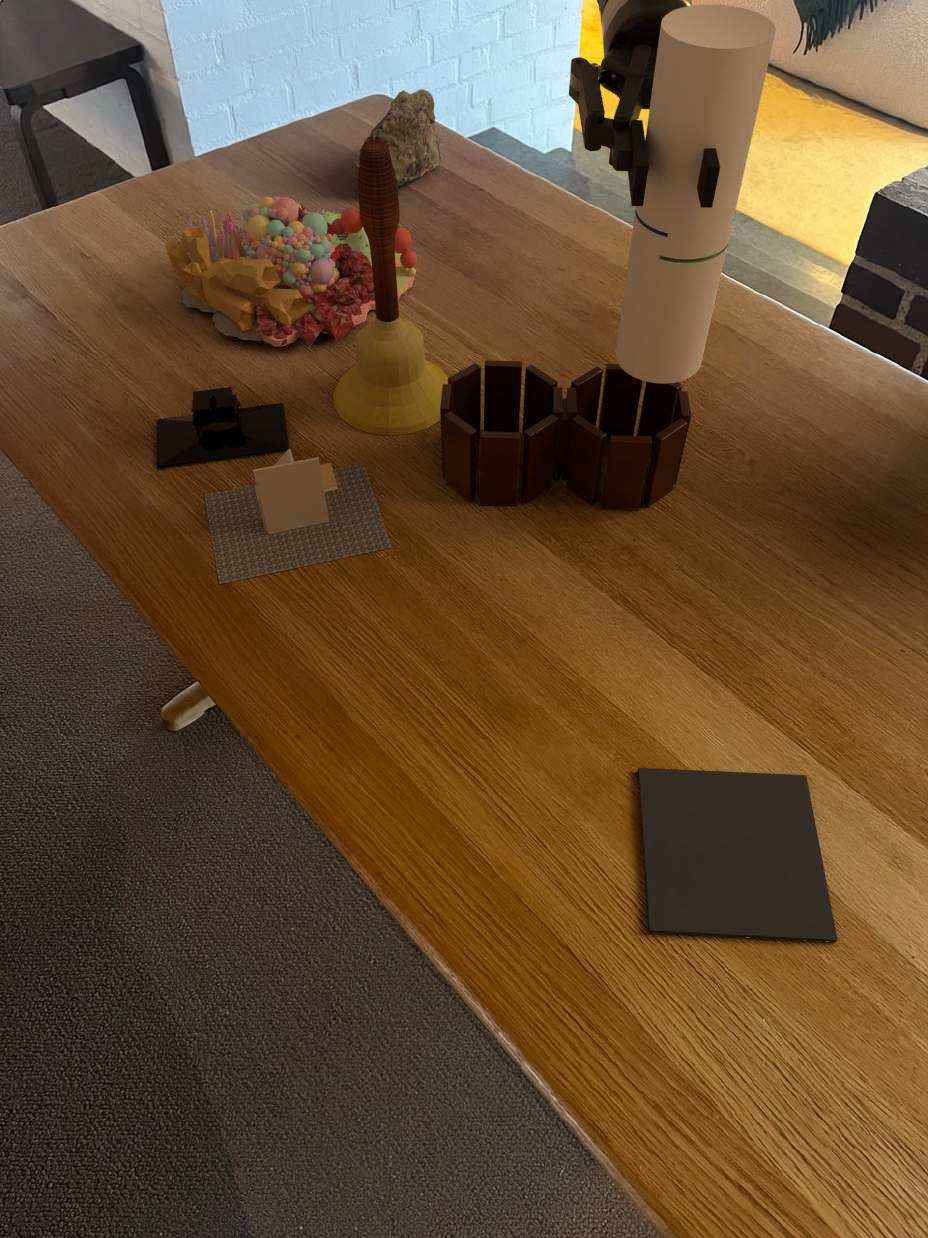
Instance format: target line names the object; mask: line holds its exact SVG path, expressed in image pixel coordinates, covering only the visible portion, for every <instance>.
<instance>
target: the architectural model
mask: <svg viewBox="0 0 928 1238" xmlns="http://www.w3.org/2000/svg"><path fill="white" fill-rule="evenodd" d="M252 472H253V478H254V483H255V484H252V485H248V486H242V487H237V488H233V489H226V490H222V491H216V492H211V493H206V494H204V495H203V496H204V501H205V506H206V507H205V508H206V512H207V519H208V525H209V530H210V538H211V542H212V543H211V544H212V549H213V554H214V561H215V565H216V572H217V578H218V584H219V585H223V584H228V583H232V582H237V581H242V580H246V579H251V578H252V579H253V578H256V577H260V576H265V575H266V576H267V575H269V574H275V573H279V572H283V571H289V570H293V569H297V568H302V567H307V566H311V565H312V566H313V565H316V564H322V563H327V562H331V561H335V560H340V559H345V558H349V557H354V556H359V555H363V554H367V553H373V552H378V551H382V550H388V549H392V548H393V547H392V543H391V539H390V537H389V533H388V531H387V527H386V525H385V521H384V519H383V516H382V513H381V509H380V506H379V504H378V501H377V497H376V494H375V491H374V488H373V485H372V482H371V479H370V476H369V473H368V470H367V467H366V464H365V463H364V462H363V463H359V464H354V465H349V466H344V467H343V466H342V467H339V468H338V467H337V468H334V469H333V466H332V462H328V463H323V464H321V463H320V457H319V456H317V457H316V455H312V457H311V458H306V459H302V460H301V459H300V460H296V461H294V457H293V453H292V450H291V448H289V449H288V450H287V451H286V452H283V454H282V455H281V457H280V458H278V460H277V461H276V462H275V463H274V464H273V465H271V466H265V467H260V468H255V469H252Z"/></svg>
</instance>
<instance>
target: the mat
mask: <svg viewBox="0 0 928 1238" xmlns="http://www.w3.org/2000/svg"><path fill="white" fill-rule="evenodd" d="M637 780H638V781H637V782H639V784H638V796H639V797H640V799H639V811H640V812H641V814H640V827H641V826H642V829H641V842H643V844H642V855H643V854H644V859H643V871H644V873H643V874H644V888H645V901H646V919H647V932H648V931H649V932H648V933H649V934H658V933H664V934H663V935H678V934H682V935H681V936H698V935H699V937H700V936H701V935H706V936H705V937H718V938H737V937H741V938H740V939H747V938H746V937H750V938H749V939H757V938H761V940H763V939H762V938H768V939H767V940H777V939H784V940H783V941H796V940H799V942H804V941H803V940H806V941H805V942H816V941H822V942H821V943H826V942H825V941H829V942H828V943H837V941H838V940H839V939H838V933H837V929H836V924H835V918H834V913H833V909H832V908H833V907H832V903H831V898H830V892H829V887H828V882H827V876H826V871H825V867H824V861H823V856H822V850H821V845H820V841H819V835H818V830H817V825H816V819H815V814H814V809H813V803H812V799H811V793H810V788H809V783H808V777H807V775H806V774H794V773H793V774H792V773H772V772H771V773H769V772H767V773H766V772H745V771H744V772H743V771H721V770H701V769H700V770H698V769H678V768H677V769H676V768H674V769H673V768H657V767H655V768H654V767H653V768H652V767H638V769H637ZM639 797H638V798H639ZM640 809H641V810H640ZM726 936H727V937H726ZM701 937H702V936H701Z"/></svg>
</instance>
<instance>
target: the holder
mask: <svg viewBox="0 0 928 1238" xmlns="http://www.w3.org/2000/svg"><path fill="white" fill-rule="evenodd" d="M524 371H525V372H524V389H523V390H524V391H523V409H522V427H521V432H520V421H521V420H520V418H521V415H520V414H521V400H522V399H521V398H522V397H521V396H522V379H523V377H522V376H523V361H521V360H489V359H488V360H484V374H483V377H484V379H483V380H484V384H483V385H484V386H483V387H484V388H483V430H482V429H481V428H482V427H481V420H482V418H481V417H482V415H481V412H482V411H481V409H482V366H481V365H480V364H478V363H477V362H474V363H472V364H471V365H469V366H467V367H465V368H463V369H462V370H460V371H458V372H456V373H455V374H452V375H451V376H449V377H448V384H443V386H442V396H441V405H440V447H441V449H440V450H441V476H442V477H444V478H445V483H446V485H448V486H449V487H450V488H451V489H453V490H454V491H455V492H457V493H458V494H459V495H460V496H462V497H463V498H465V500H467V501H468V502H469V503H471V502H473V501H474V500H476V499H477V462H478V461H477V459H478V458H477V453H478V452H477V449H478V447H477V445H478V444H477V443H478V439H477V437H479V479H478V481H479V483H478V484H479V487H478V491H479V492H478V493H479V494H478V505H479V506H496V507H517V506H518V491H519V490H518V489H519V473H520V471H519V469H520V451H521V436H522V438H523V439H522V440H523V442H522V459H521V460H522V462H521V478H520V479H521V480H520V481H521V482H520V497H519V499H520V501H521V502H523V503H524V504H526V505H527V504H529V503H530V502H532V501H533V500H535V499H536V498H537V497H539V496H540V495H542V494H544V493H545V492H546V491H548V490H550V489H551V488H553V485H554V481H557V480H558V479H557V478H558V472H560V481H565V485H564V488H566V489H567V490H569V491H570V492H572V493H573V494H574V495H575V496H577V497H578V498H580V499H581V500H582V501H584V502H585V503H587V504H588V505H590V506H591V507H592V506H594V505H595V504H597V503H598V501H599V494H600V493H599V492H600V487H601V478H602V471H603V465H604V457H605V451H606V444H607V438H608V439H609V446H608V451H607V452H608V453H607V460H606V467H605V471H604V472H605V473H604V479H603V487H602V493H601V501H600V509H601V510H614V511H640V507H641V504H642V505H643V506H645V507H646V508H647V509H649V508H650V507H652V506H653V505H654V504H656V503H658V502H659V501H660V500H661V499H663V498H664V497H665V496H667V495H668V494H669V493H671V492H672V491H673V490H674V486H675V485H676V484H677V481H678V476H679V472H680V468H681V464H682V458H683V455H684V451H685V446H686V441H687V437H688V434H689V433H688V432H689V429H690V424H691V420H692V410H691V403H690V397H689V392H688V390H683V384H682V383H680V381H679V382H675V383H667V384H665V383H652V382H647V381H645V385H644V386H645V387H644V393H643V397H642V398H643V399H642V403H641V409H640V414H639V415H640V416H639V421H638V427H637V433H636V435H635V429H636V423H637V417H638V411H639V405H640V399H641V393H642V388H643V382H644V381H643V380H640V379H637V378H635V377H633V376H631V375H630V374H628V373H627V372H625V371H624V370H623V369H622V368H621V367H620V365H619V364H618V363H606V364H605V371H604V369H603V368H601V367H600V366H598V365H597V366H595V367H593V368H591V369H590V370H588V371H587V372H585V373H583V374H582V375H580V376H578V377H577V378H575V379H573V380H572V381H571V382H570V387H566V392H565V393H566V395H565V398H564V397H563V387H560V386H559V387H558V384H559V381H558V380H557V379H555V378H553V377H552V376H551V375H549V374H547V373H546V372H544V371H543V370H541V369H540V368H538V367H537V366H535V365H534V364H529V365H528V366H525V368H524ZM603 374H604V378H603ZM603 379H604V380H603ZM602 382H603V387H602ZM601 390H602V395H601ZM600 397H601V402H600ZM599 405H600V409H599ZM598 413H599V416H598ZM597 421H598V424H597ZM481 430H482V431H481ZM650 453H651V454H650ZM648 464H649V465H648Z"/></svg>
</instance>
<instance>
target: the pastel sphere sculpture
mask: <svg viewBox="0 0 928 1238" xmlns="http://www.w3.org/2000/svg"><path fill="white" fill-rule="evenodd" d="M242 217H243V219H244V220H245V221H246V223H245V224H243V226H242V227H239V226H238V224H237V223H236V222H235V221H234V222H233V219H232V216H231V215H230V213H229V212H227V214H226V220H223V221H218V224H216V223H215V217H214V213H213V211H212V210H209V224H207V221H206V219H205V216H204V215H202V224H201V226H199V227H197V226H196V227H195V226H193V222H192V221H193V220H192V217H190V218H189V221H188V223H187V224H186V228H183V229H182V230H181V239H180V241H177V240H175V239H171V238H168V240H167V242H166V244H165V245H164V248H165V251H166V253H167V256H168V259H169V261H170V262H171V265H172V268H173V270H174V271H176V273H177V274H178V276H179V278H180V280H181V282H182V283H183V284H184V288H183V291H182V292H181V294H180V298H183V300H182V303H183V304H184V305H185V306H186V307H188V308H193V309H194V308H195V309H199V310H200V311H201V312H205V313H213V316H212V318H211V320H212V322H213V323H214V328H215V329H216V330H218V331H219V332H220V333H222V335H223V336H228V337H236V338H238V339H240V340H244V341H254V342H260V341H261V342H262V341H264V343H266V344H269V345H272V346H273V347H275V348H280V347H284V346H287V345H290V344H292V343H295V342H296V341H297V339H302V341H303V342H304V344H305V345H306V347H307V348H308V349H310V348H311V347H312V345H313V344H314V343H315V341H316V339H317V338H318V337H319V335H320V333H322V334H324V335H333V337H334V339H335V341H338V340H340V339H341V338H343V337H345V336H346V335H348V334H349V333H350V332H352V331H354V330H355V329H357V326H358V325H360V324H361V323H364V322H365V321H366V320H367V318H368V317H367V316H368V313H369V311H371V310H373V311H374V310H375V311H376V307H375V296H374V285H373V274H372V262H371V251H370V245H369V241H368V238H367V235H366V233H365V230H364V228H363V226H362V223H361V217H360V209H358V208H356V207H347V208H345V209H344V210H342V212H341V213H339V212H337V213H335V212H334V211H330V210H324V208H323V209H322V210H321V211H315V212H314V211H310V212H309V211H307V208H306V207H305V206H304V205H302V204H301V203H297V202H296V201H295V200H294V199H293V198H290V197H287V196H282V197H280V196H279V195H278V196H277V195H276V196H273V197H270V196H264V197H263V198H262V199H261V201H260V204H258V203H251V204H248V205H247V206H246V207H244V208H243V211H242ZM232 222H233V223H234V224H233V223H232ZM208 225H209V226H208ZM216 228H217V230H216ZM217 231H218V234H217ZM412 242H413V240H412V235H411V233H410V231H409V230H408V229H406V228H405V227H401V226H398V228H397V232H396V236H395V262H396V277H397V292H398V301H399V300H400V299H401V295H403V294H405V293H406V292H407V290H409V289H411V288H412V287H413V285H414V281H415V276H416V275H417V270H416V268H414V267H415V266H416V264H417V261H418V258H417V254H416V252H414V251H412V250H411V249H410V248H411V246H412Z"/></svg>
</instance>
